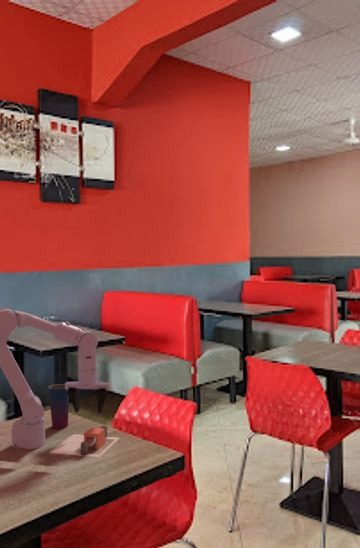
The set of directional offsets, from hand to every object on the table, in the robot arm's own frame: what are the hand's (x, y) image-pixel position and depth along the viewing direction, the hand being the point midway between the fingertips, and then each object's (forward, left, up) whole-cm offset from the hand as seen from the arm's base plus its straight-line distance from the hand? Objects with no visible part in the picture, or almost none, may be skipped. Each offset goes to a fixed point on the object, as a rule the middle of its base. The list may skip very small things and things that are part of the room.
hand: (88, 411), depth 168 cm
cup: (-14, +7, -10) cm, 18 cm away
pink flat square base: (+2, -7, -9) cm, 12 cm away
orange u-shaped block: (+5, -7, -8) cm, 12 cm away
